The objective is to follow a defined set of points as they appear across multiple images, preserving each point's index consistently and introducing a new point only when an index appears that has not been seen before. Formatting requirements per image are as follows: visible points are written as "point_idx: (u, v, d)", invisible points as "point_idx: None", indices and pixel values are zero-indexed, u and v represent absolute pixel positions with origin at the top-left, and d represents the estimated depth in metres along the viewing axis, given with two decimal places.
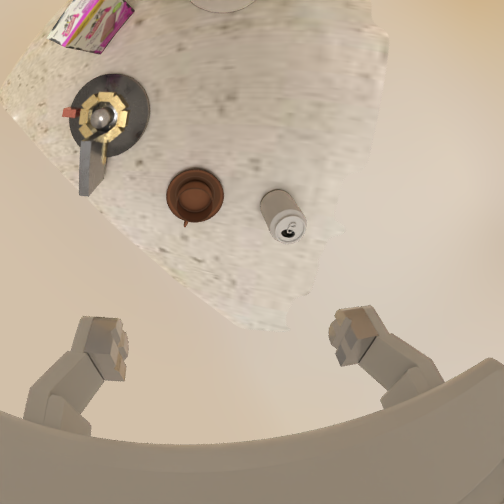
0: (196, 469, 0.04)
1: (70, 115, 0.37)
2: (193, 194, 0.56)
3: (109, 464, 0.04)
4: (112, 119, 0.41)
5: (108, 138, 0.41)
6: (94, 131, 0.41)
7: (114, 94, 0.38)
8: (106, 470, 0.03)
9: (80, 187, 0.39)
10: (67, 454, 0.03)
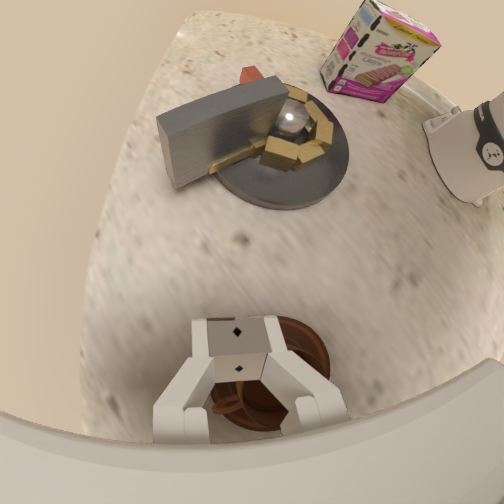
0: (196, 469, 0.04)
1: (253, 77, 0.26)
2: None
3: (109, 464, 0.04)
4: None
5: (270, 144, 0.24)
6: None
7: None
8: (106, 470, 0.03)
9: (178, 110, 0.16)
10: (67, 454, 0.03)
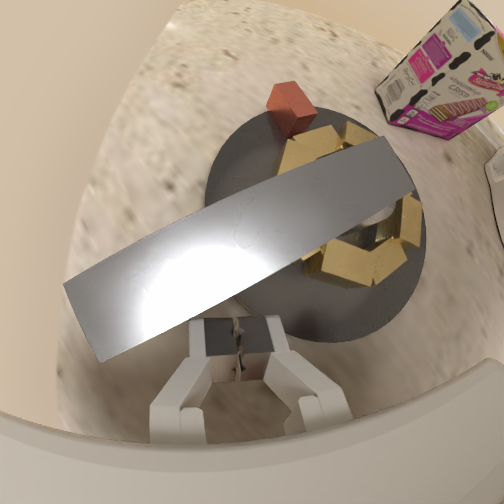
0: (196, 469, 0.04)
1: (294, 103, 0.15)
2: None
3: (109, 464, 0.04)
4: (353, 232, 0.16)
5: (330, 258, 0.13)
6: None
7: None
8: (106, 470, 0.03)
9: (121, 265, 0.05)
10: (67, 454, 0.03)
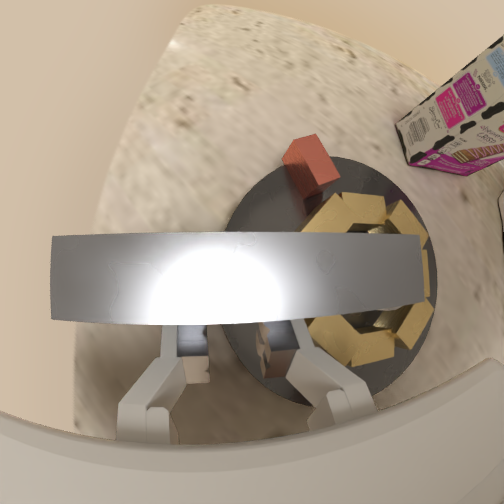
0: (196, 469, 0.04)
1: (315, 166, 0.14)
2: None
3: (109, 464, 0.04)
4: None
5: (319, 324, 0.13)
6: None
7: None
8: (106, 470, 0.03)
9: (105, 247, 0.05)
10: (67, 454, 0.03)
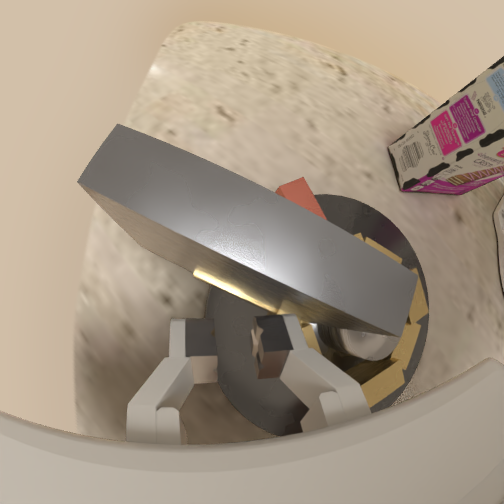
0: (196, 469, 0.04)
1: None
2: None
3: (109, 464, 0.04)
4: None
5: None
6: None
7: None
8: (106, 470, 0.03)
9: (155, 149, 0.06)
10: (67, 454, 0.03)
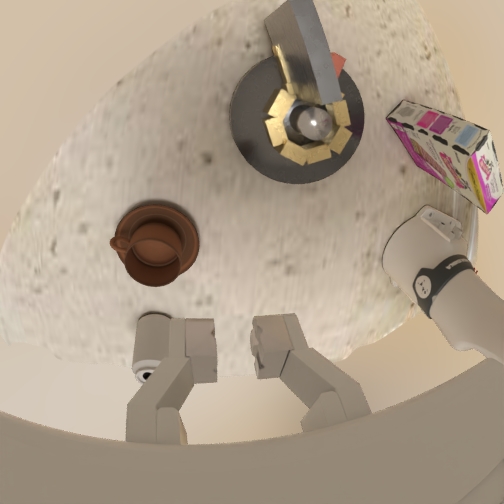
0: (196, 469, 0.04)
1: None
2: None
3: (109, 464, 0.04)
4: (298, 132, 0.29)
5: (286, 95, 0.24)
6: None
7: (305, 160, 0.30)
8: (106, 470, 0.03)
9: (313, 12, 0.15)
10: (67, 454, 0.03)
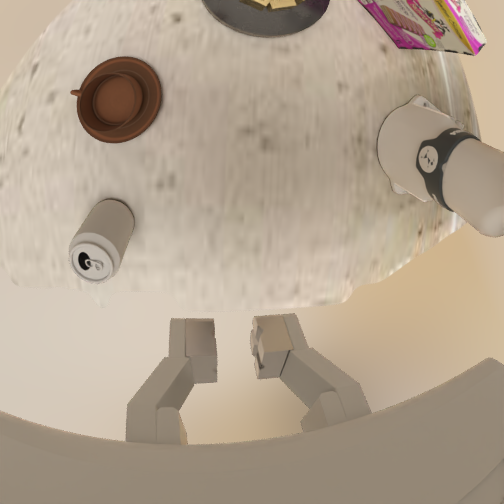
0: (196, 469, 0.04)
1: None
2: (119, 96, 0.28)
3: (109, 464, 0.04)
4: None
5: None
6: None
7: (270, 7, 0.22)
8: (106, 470, 0.03)
9: None
10: (67, 454, 0.03)
